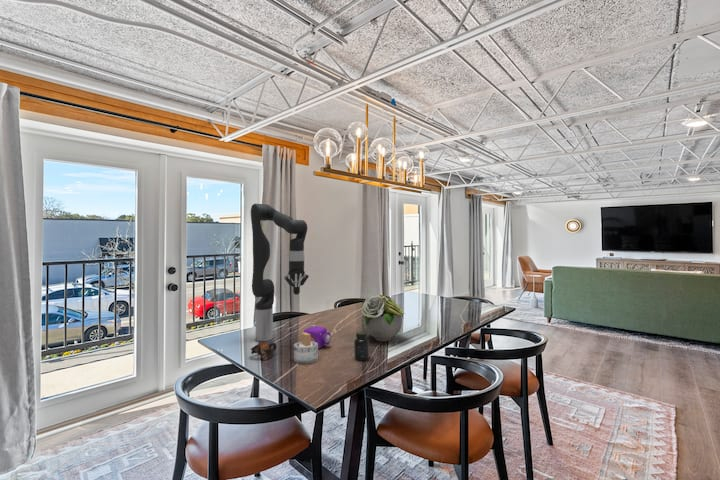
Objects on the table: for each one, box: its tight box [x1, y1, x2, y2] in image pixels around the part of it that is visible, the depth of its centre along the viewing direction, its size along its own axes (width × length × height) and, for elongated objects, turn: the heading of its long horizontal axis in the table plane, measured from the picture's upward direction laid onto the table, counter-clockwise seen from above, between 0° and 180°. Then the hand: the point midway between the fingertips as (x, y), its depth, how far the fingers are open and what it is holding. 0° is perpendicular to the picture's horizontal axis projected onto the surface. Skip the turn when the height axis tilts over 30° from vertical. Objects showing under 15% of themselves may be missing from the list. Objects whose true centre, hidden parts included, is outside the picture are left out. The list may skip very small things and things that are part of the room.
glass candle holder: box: [293, 341, 319, 365], centre depth 158 cm, size 11×11×7 cm
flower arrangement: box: [360, 294, 405, 342], centre depth 188 cm, size 25×25×24 cm
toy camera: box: [303, 324, 332, 350], centre depth 177 cm, size 11×14×10 cm
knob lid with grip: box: [299, 331, 313, 347], centre depth 158 cm, size 6×6×7 cm
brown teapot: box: [250, 341, 278, 361], centre depth 163 cm, size 12×10×8 cm
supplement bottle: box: [353, 331, 370, 362], centre depth 159 cm, size 7×7×12 cm
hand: (296, 294), depth 171 cm, fingers closed
